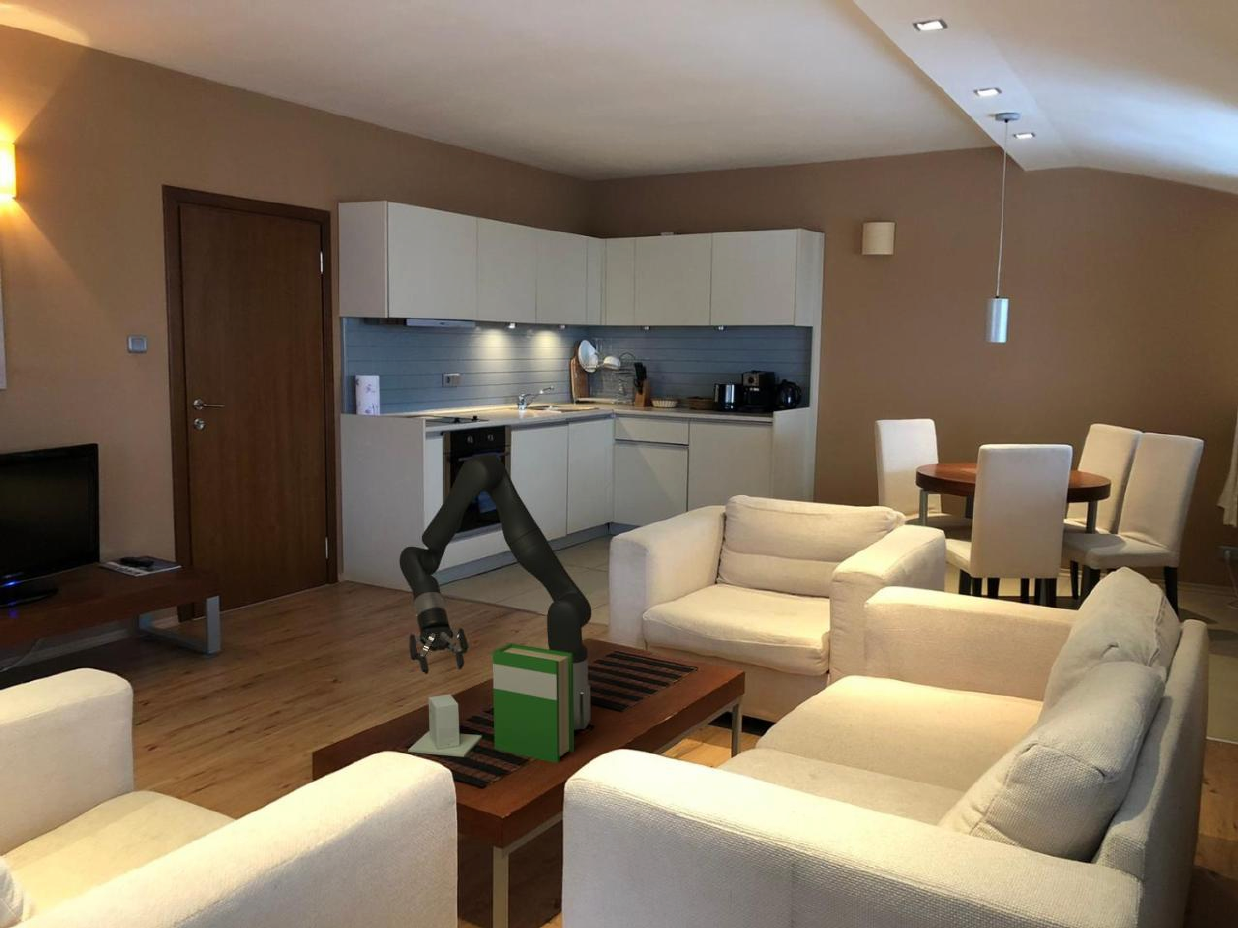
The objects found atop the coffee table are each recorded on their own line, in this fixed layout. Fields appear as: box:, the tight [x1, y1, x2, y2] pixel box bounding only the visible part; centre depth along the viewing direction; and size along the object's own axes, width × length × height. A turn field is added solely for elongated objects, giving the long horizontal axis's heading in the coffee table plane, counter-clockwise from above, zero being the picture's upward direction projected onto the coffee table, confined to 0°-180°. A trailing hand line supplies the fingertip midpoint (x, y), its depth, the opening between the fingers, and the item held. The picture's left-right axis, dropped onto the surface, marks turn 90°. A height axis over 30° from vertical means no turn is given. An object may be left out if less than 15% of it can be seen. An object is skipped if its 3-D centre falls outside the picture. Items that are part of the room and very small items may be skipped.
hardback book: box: [492, 643, 575, 764], centre depth 238 cm, size 18×7×24 cm, turn 62°
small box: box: [428, 693, 460, 749], centre depth 242 cm, size 8×6×10 cm
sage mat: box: [407, 730, 483, 758], centre depth 243 cm, size 14×12×1 cm
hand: (444, 670), depth 249 cm, fingers open, 8 cm apart
